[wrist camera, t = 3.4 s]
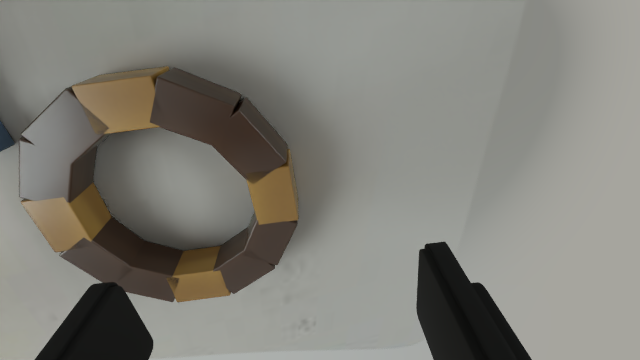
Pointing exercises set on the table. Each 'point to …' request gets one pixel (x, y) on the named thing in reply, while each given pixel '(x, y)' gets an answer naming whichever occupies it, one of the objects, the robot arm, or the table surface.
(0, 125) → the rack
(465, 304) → the robot arm
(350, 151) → the table surface
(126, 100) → the ring
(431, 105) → the table surface
